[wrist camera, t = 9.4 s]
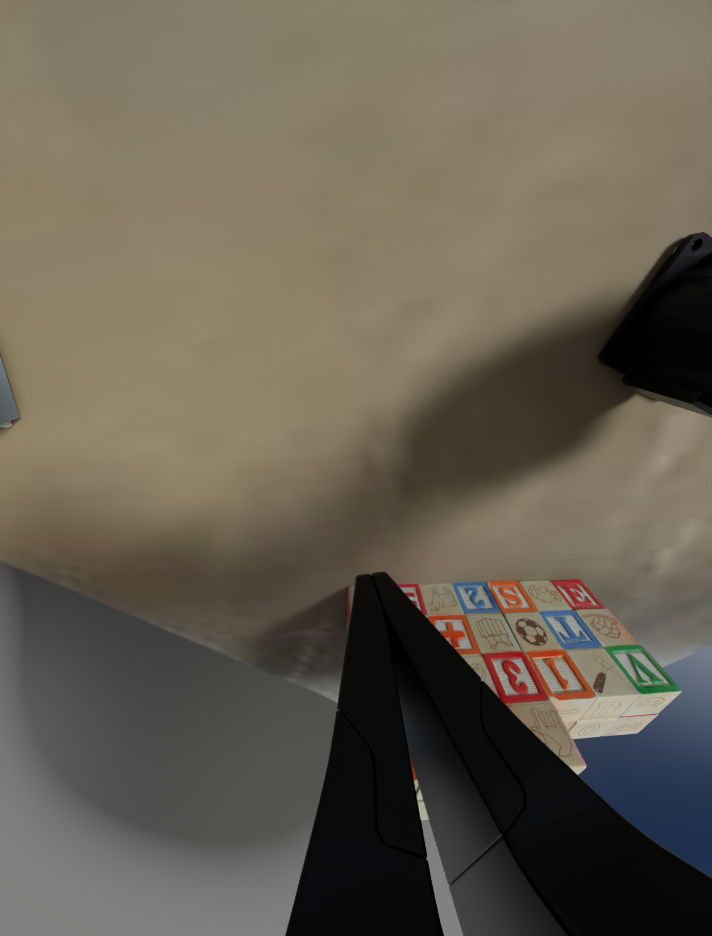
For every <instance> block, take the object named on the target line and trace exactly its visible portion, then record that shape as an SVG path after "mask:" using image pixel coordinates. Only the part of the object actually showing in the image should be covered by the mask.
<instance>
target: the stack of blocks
mask: <svg viewBox="0 0 712 936" xmlns="http://www.w3.org/2000/svg"><path fill="white" fill-rule="evenodd" d="M398 586H399V587H400V588H401V590H402V591H403V592H404V593H405V594H406V595H407V596H408V597H409V598H410V600H411V601H412V602H413V603H414V604H415V605H416V606H417V607H418V608H419V610H420V611H421V612H422V613H423V614H424V615H425V616H426V617H427V618H428V620H429V621H430V622H431V623H432V624H433V625H434V626H435V627H436V628H437V629H438V631H439V632H440V633H441V634H442V635H443V636H444V637H445V638H446V639H447V641H448V642H449V643H450V644H451V645H452V646H453V647H454V648H455V649H456V651H457V652H458V653H459V654H460V655H461V656H462V657H463V658H464V659H465V661H466V662H467V663H468V664H469V665H470V666H471V667H472V668H473V669H474V670H475V672H476V673H477V674H478V675H479V676H480V677H481V681H485V682H486V684H487V685H488V686H489V687H490V688H491V689H492V690H493V691H494V693H495V694H496V695H497V696H498V697H499V698H500V699H501V700H502V701H503V702H504V703H505V704H506V705H507V707H508V708H509V709H510V710H511V711H512V712H513V713H514V714H515V715H516V716H517V717H518V718H519V719H520V720H521V721H522V722H523V723H524V724H525V725H526V726H527V727H528V728H529V729H530V730H531V731H532V732H533V733H534V734H535V735H536V736H537V737H538V738H539V739H540V740H541V741H542V742H543V743H544V744H546V745H547V746H548V747H549V748H550V749H551V750H552V751H553V752H554V753H555V754H556V755H557V756H558V757H559V758H560V759H561V760H562V761H564V762H565V763H566V764H567V765H568V766H569V767H570V768H571V769H572V770H573V771H574V772H575V773H576V774H577V775H578V774H579V773H580V772H581V771H583V770H584V769H585V768H586V767H587V766H586V764H585V761H584V759H583V757H582V756H581V754H580V752H579V750H578V748H577V746H576V745H575V743H574V741H573V739H578V738H589V737H599V736H609V735H624V734H634V733H638V732H639V731H640V730H641V729H643V728H644V727H645V726H646V725H647V724H648V723H649V722H650V721H652V720H653V719H654V718H655V717H656V716H657V715H658V713H659V712H660V711H661V710H662V709H663V708H664V707H665V706H667V705H668V704H669V703H670V702H671V701H672V700H673V699H674V698H675V697H676V696H678V694H680V693H681V692H682V690H681V688H680V687H679V686H678V685H677V684H676V683H675V681H674V680H673V679H672V678H671V677H670V676H669V675H668V674H667V673H666V671H665V670H664V669H663V668H662V667H661V666H660V665H659V664H658V663H657V661H656V660H655V659H654V658H653V657H652V656H651V655H650V654H649V653H648V652H647V650H646V649H645V648H644V647H642V646H641V645H639V644H638V643H637V642H636V640H635V639H634V638H633V637H632V636H631V634H630V633H629V632H628V631H627V630H626V629H625V628H624V627H623V626H622V624H621V623H620V622H619V621H618V620H617V619H616V618H615V617H614V615H613V614H612V613H611V612H610V611H609V610H608V609H606V608H605V606H604V605H603V604H602V603H601V602H600V601H599V599H598V598H597V597H596V596H595V595H594V594H593V592H592V591H591V590H590V589H589V588H588V587H587V586H586V585H585V584H584V583H583V582H582V581H581V580H567V581H551V582H550V581H548V580H539V581H520V582H517V581H504V582H486V583H454V584H425V585H418V584H406V585H398ZM354 588H355V586H349V587H348V600H347V625H346V640H347V636H348V630H349V623H350V616H351V609H352V602H353V595H354ZM409 755H410V754H409ZM410 761H411V757H410ZM411 766H412V772H413V778H414V784H415V789H416V795H417V801H418V806H419V812H420V818H421V820H426V819H429V818H428V815H427V811H426V808H425V804H424V801H423V798H422V794H421V791H420V788H419V784H418V781H417V778H416V774H415V771H414V768H413V764H412V761H411Z"/></svg>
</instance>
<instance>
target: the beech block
mask: <svg viewBox="0 0 712 936" xmlns="http://www.w3.org/2000/svg"><path fill="white" fill-rule="evenodd" d="M17 418H20V416H19V413H18V410H17V407H16V403H15V400H14V397H13V394H12V391H11V388H10V385H9V382H8V378H7V375H6V372H5V369H4V366H3V363H2V360H1V356H0V425H2V424H5V423H7V422H10V421H12V420H15V419H17Z"/></svg>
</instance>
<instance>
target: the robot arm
mask: <svg viewBox="0 0 712 936" xmlns="http://www.w3.org/2000/svg"><path fill="white" fill-rule="evenodd" d="M693 243H694V246H693V248H692V245H693ZM611 353H612V355H611V357H610V358H609V355H610V354H611ZM599 362H600V363H601V364H603V365H605V366H607V367H609V368H610V369H612V370H614V371H616V372H618V373H620V374H622V375H624V378H623V379H622V381H623V384H624V385H626V386H628V387H630V388H632V389H634V390H636V391H638V392H640V393H642V394H644V395H645V396H647V397H649V398H652V399H655V400H658V401H661V402H664V403H668V404H671V405H674V406H677V407H680V408H683V409H687V410H690V411H693V412H696V413H699V414H702V415H706V416H709V417H712V237H710V236H709V235H708V234H706V233H704V232H701V233H695V234H690V235H689V236H687V237H686V238H685V239H684V240H683V241H682V242H681V243H680V245H679V246H678V248H677V249H676V250H675V252H674V253H673V254H672V256H671V257H670V258H669V260H668V261H667V263H666V264H665V265H664V267H663V268H662V269H661V271H660V272H659V273H658V275H657V276H656V278H655V279H654V280H653V282H652V283H651V284H650V286H649V287H648V288H647V290H646V291H645V293H644V294H643V295H642V297H641V298H640V299H639V301H638V302H637V303H636V305H635V306H634V308H633V309H632V310H631V312H630V313H629V314H628V316H627V317H626V318H625V320H624V321H623V323H622V324H621V325H620V327H619V328H618V329H617V331H616V332H615V333H614V335H613V336H612V338H611V339H610V340H609V342H608V343H607V344H606V346H605V347H604V348H603V350H602V351H601V353H600V355H599ZM409 754H410V755H409ZM410 757H411V761H412V764H413V768H414V771H415V774H416V778H417V781H418V784H419V788H420V791H421V794H422V798H423V801H424V804H425V808H426V811H427V815H428V818H429V821H430V825H431V828H432V831H433V835H434V838H435V841H436V845H437V848H438V851H439V854H440V858H441V861H442V865H443V868H444V872H445V875H446V878H447V881H448V884H449V885H450V886H449V888H450V892H451V895H452V899H453V902H454V906H455V909H456V912H457V915H458V919H459V922H460V926H461V929H462V932H463V935H464V936H712V877H710V876H709V875H707V874H705V873H704V872H702V871H700V870H699V869H697V868H696V867H694V866H692V865H691V864H689V863H688V862H686V861H684V860H683V859H681V858H679V857H678V856H676V855H675V854H673V853H671V852H670V851H668V850H667V849H665V848H664V847H662V846H661V845H659V844H658V843H656V842H655V841H653V840H652V839H651V838H649V837H648V836H646V835H645V834H644V833H642V832H641V831H640V830H639V829H637V828H636V827H635V826H633V825H632V824H631V823H630V822H629V821H627V820H626V819H625V818H624V817H623V816H621V815H620V814H619V813H618V812H617V811H616V810H615V809H613V808H612V807H611V806H610V805H609V804H608V803H607V802H606V801H605V800H604V799H603V798H601V796H599V795H598V794H597V793H596V792H595V791H594V790H593V789H592V788H591V787H590V786H589V785H588V784H587V783H586V782H585V781H584V780H583V779H582V778H581V777H579V776H578V775H577V774H576V773H575V772H574V771H573V770H572V769H571V768H570V767H569V766H568V765H567V764H566V763H565V762H564V761H562V760H561V759H560V758H559V757H558V756H557V755H556V754H555V753H554V752H553V751H552V750H551V749H550V748H549V747H548V746H547V745H546V744H544V743H543V742H542V741H541V740H540V739H539V738H538V737H537V736H536V735H535V734H534V733H533V732H532V731H531V730H530V729H529V728H528V727H527V726H526V725H525V724H524V723H523V722H522V721H521V720H520V719H519V718H518V717H517V716H516V715H515V714H514V713H513V712H512V711H511V710H510V709H509V708H508V707H507V705H506V704H505V703H504V702H503V701H502V700H501V699H500V698H499V697H498V696H497V695H496V694H495V693H494V691H493V690H492V689H491V688H490V687H489V686H488V685H487V684H486V682H485V681H481V677H480V676H479V675H478V674H477V673H476V672H475V670H474V669H473V668H472V667H471V666H470V665H469V664H468V663H467V662H466V661H465V659H464V658H463V657H462V656H461V655H460V654H459V653H458V652H457V651H456V649H455V648H454V647H453V646H452V645H451V644H450V643H449V642H448V641H447V639H446V638H445V637H444V636H443V635H442V634H441V633H440V632H439V631H438V629H437V628H436V627H435V626H434V625H433V624H432V623H431V622H430V621H429V620H428V618H427V617H426V616H425V615H424V614H423V613H422V612H421V611H420V610H419V608H418V607H417V606H416V605H415V604H414V603H413V602H412V601H411V600H410V598H409V597H408V596H407V595H406V594H405V593H404V592H403V591H402V590H401V588H400V587H399V586H398V585H397V584H396V583H395V582H394V581H393V580H392V578H391V577H390V576H389V575H388V574H387V573H386V572H377V573H372V574H371V575H370V574H362V575H357V577H356V581H355V588H354V595H353V602H352V609H351V616H350V623H349V630H348V636H347V643H346V650H345V657H344V664H343V671H342V678H341V685H340V691H339V698H338V706H337V712H336V718H335V725H334V732H333V737H332V743H331V749H330V755H329V761H328V766H327V770H326V774H325V779H324V784H323V788H322V792H321V797H320V801H319V805H318V809H317V813H316V817H315V821H314V825H313V829H312V833H311V837H310V841H309V845H308V849H307V852H306V856H305V860H304V864H303V868H302V872H301V877H300V880H299V884H298V888H297V893H296V896H295V901H294V904H293V908H292V912H291V916H290V920H289V923H288V927H287V931H286V935H285V936H444V934H443V931H442V927H441V923H440V918H439V914H438V909H437V904H436V900H435V895H434V890H433V886H432V880H431V875H430V870H429V864H428V861H427V860H426V858H427V852H426V847H425V841H424V835H423V829H422V823H421V818H420V812H419V806H418V801H417V795H416V789H415V784H414V778H413V772H412V766H411V761H410Z"/></svg>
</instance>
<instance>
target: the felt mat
mask: <svg viewBox="0 0 712 936" xmlns="http://www.w3.org/2000/svg"><path fill="white" fill-rule="evenodd" d="M11 426H12V424H11V421H10V422H7V423H5V424H2V425H0V427H3V428H9V427H11Z"/></svg>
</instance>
